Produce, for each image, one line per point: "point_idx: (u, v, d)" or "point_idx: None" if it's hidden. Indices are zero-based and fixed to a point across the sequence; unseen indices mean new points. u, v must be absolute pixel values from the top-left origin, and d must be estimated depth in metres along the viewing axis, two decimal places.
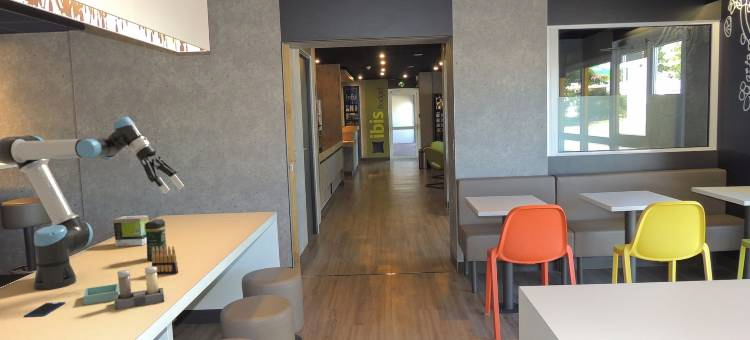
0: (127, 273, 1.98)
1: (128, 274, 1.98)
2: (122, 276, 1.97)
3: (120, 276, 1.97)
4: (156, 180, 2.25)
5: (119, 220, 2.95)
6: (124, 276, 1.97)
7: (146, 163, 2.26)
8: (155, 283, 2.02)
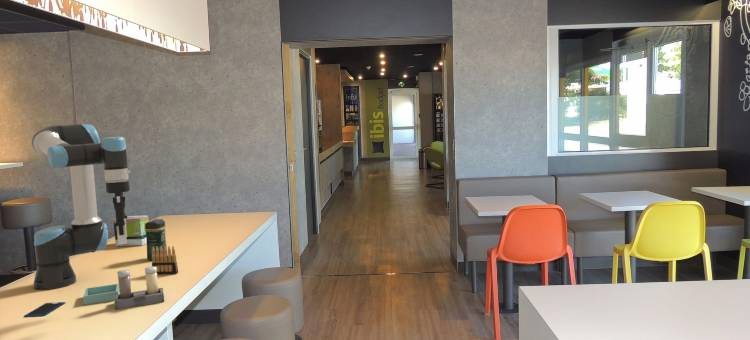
0: (127, 273, 1.98)
1: (128, 274, 1.98)
2: (122, 276, 1.97)
3: (120, 276, 1.97)
4: (121, 227, 1.90)
5: None
6: (124, 276, 1.97)
7: (120, 203, 1.91)
8: (155, 283, 2.02)
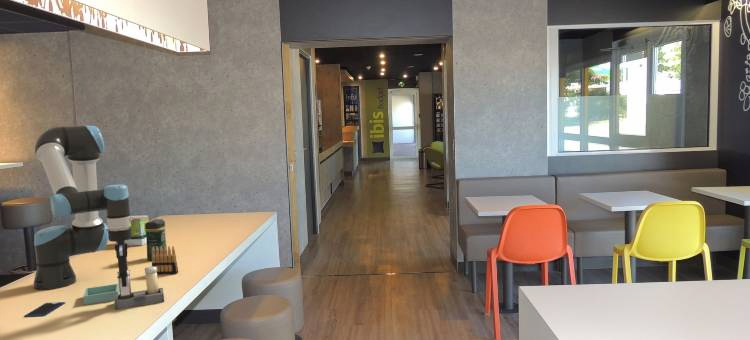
0: (127, 273, 1.98)
1: (128, 274, 1.98)
2: None
3: None
4: (124, 279, 1.95)
5: None
6: None
7: (123, 256, 1.93)
8: (155, 283, 2.02)
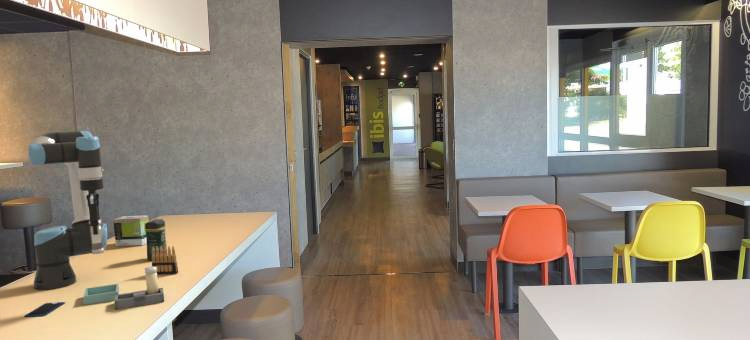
0: (98, 222, 2.05)
1: (99, 223, 2.05)
2: None
3: None
4: (95, 227, 2.02)
5: (119, 220, 2.95)
6: None
7: (94, 204, 2.00)
8: (155, 283, 2.02)
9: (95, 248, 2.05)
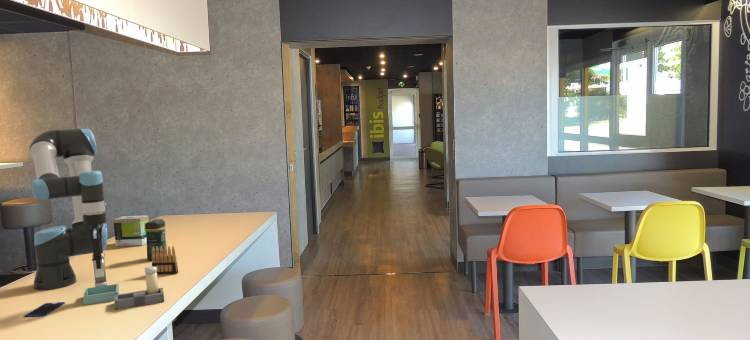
0: None
1: (102, 257, 2.06)
2: None
3: None
4: (98, 261, 2.03)
5: (119, 220, 2.95)
6: None
7: (97, 239, 2.01)
8: (155, 283, 2.02)
9: (98, 282, 2.06)
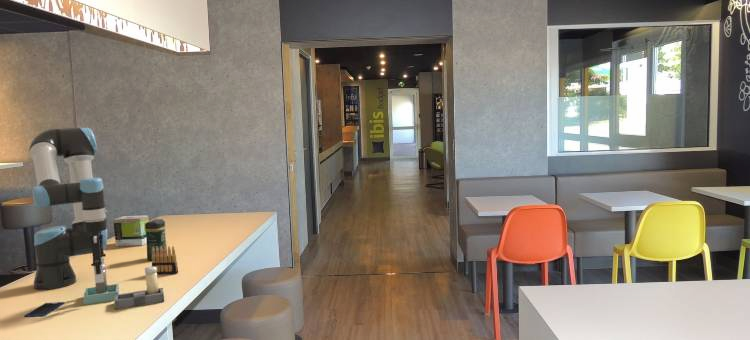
0: (103, 266, 2.06)
1: (104, 267, 2.06)
2: None
3: None
4: (98, 267, 2.00)
5: (119, 220, 2.95)
6: None
7: (97, 243, 2.00)
8: (155, 283, 2.02)
9: (99, 292, 2.06)
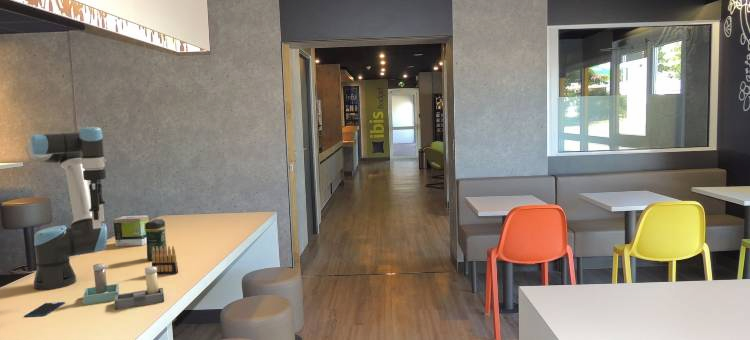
0: (102, 266, 2.06)
1: (103, 267, 2.07)
2: (97, 269, 2.05)
3: (95, 269, 2.05)
4: (96, 212, 2.03)
5: (119, 220, 2.95)
6: (99, 269, 2.05)
7: (95, 190, 2.03)
8: (155, 283, 2.02)
9: (99, 292, 2.06)
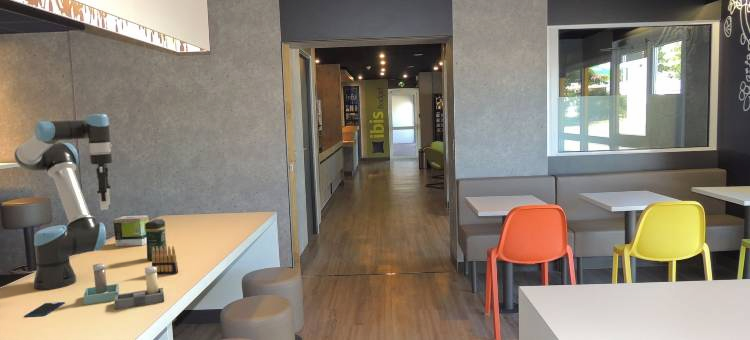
0: (102, 266, 2.06)
1: (103, 267, 2.07)
2: (97, 269, 2.05)
3: (95, 269, 2.05)
4: (103, 194, 2.13)
5: (119, 220, 2.95)
6: (99, 269, 2.05)
7: (103, 172, 2.13)
8: (155, 283, 2.02)
9: (99, 292, 2.06)
